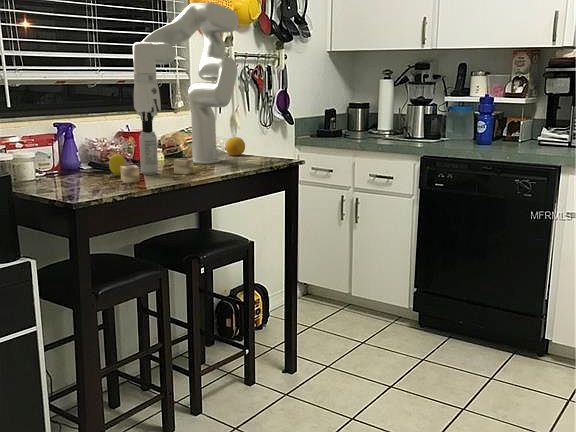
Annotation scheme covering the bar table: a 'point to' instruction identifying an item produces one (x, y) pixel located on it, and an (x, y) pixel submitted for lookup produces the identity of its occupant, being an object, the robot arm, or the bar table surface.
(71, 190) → the bar table surface
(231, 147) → the fruit
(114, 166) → the lemon
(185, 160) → the maple block
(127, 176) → the maple block
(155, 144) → the energy drink can
